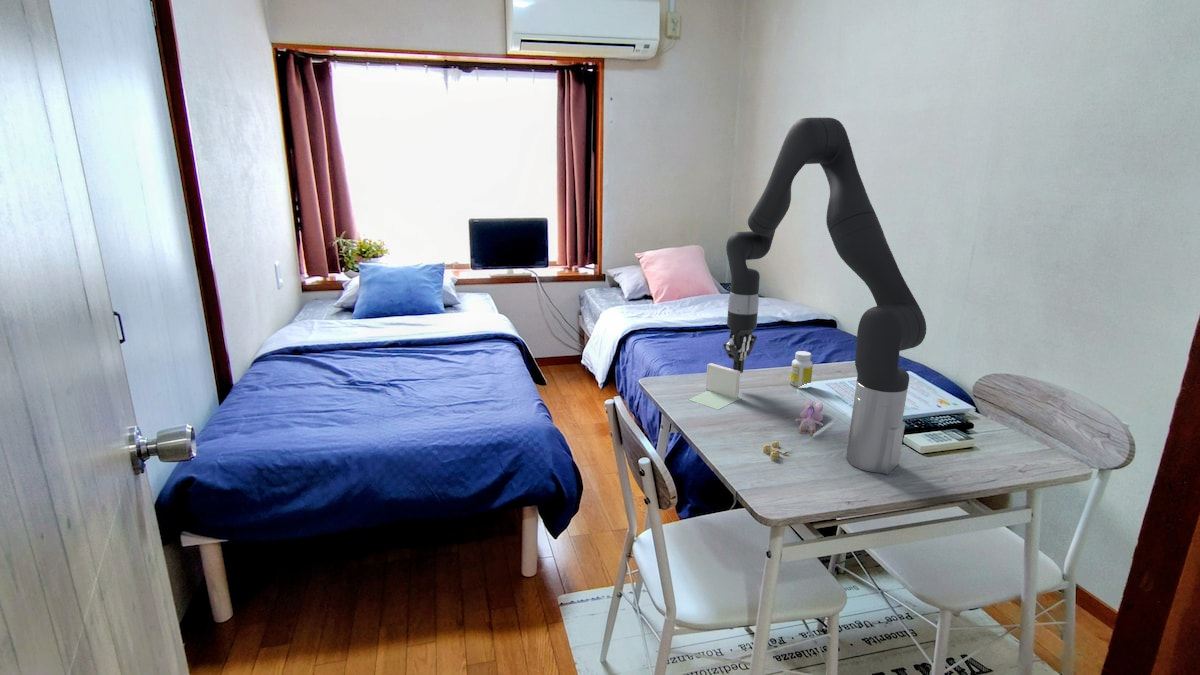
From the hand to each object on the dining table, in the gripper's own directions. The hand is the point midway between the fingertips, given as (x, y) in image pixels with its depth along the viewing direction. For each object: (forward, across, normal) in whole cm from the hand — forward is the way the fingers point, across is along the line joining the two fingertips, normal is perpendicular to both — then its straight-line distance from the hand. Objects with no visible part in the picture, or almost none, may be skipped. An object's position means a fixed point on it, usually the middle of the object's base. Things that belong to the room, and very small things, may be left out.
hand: (738, 372), depth 159 cm
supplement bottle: (+5, +14, -11) cm, 19 cm away
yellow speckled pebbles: (+6, -25, -25) cm, 36 cm away
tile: (+1, -6, -4) cm, 7 cm away
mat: (+5, -8, -3) cm, 10 cm away
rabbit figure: (+5, -6, -24) cm, 25 cm away
